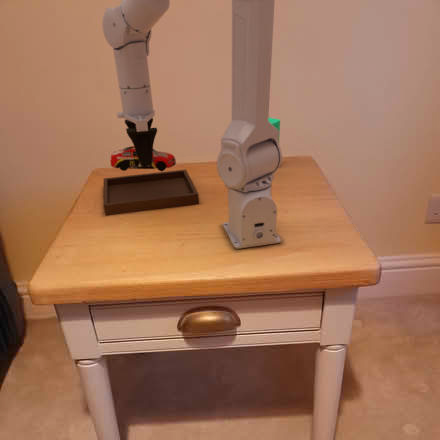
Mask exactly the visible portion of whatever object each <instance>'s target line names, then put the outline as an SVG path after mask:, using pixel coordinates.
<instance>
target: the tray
mask: <svg viewBox="0 0 440 440" xmlns="http://www.w3.org/2000/svg"><path fill="white" fill-rule="evenodd" d="M199 196H200V195H199V193H198V191H197V188H196V186H195V185H194V182H193V180H192V179H191V177H190V174H189V172H188V171H187V169H179V170H169V171H168V170H167V171H160V172H150V173H140V174H132V175H131V174H130V175H123V176H114V177H113V176H112V177H104V178H103V210H104V215H105V216H109V215H111V216H112V215H119V214H125V213H134V212H142V211H143V212H144V211H151V210H157V209H158V210H159V209H167V208H176V207H183V206H192V205H199V204H200V198H199Z"/></svg>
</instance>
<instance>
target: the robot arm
mask: <svg viewBox="0 0 440 440" xmlns="http://www.w3.org/2000/svg"><path fill="white" fill-rule="evenodd" d="M170 1H171V0H121V2H120V4H119V5H118V6H114V7H113V6H110V7H106V8H105V11H104V13H103V15H102V31H103V35H104V38H105V40H106V42H107V44H108V45H109V46H110V47H111V48H112V51H113V57H114V65H115V69H116V76H117V83H118V88H119V95H120V101H121V102H120V103H121V107H122V108H121V109H122V111H119V112H116V116H117V119H124V124H125V125H126V127H127V128H125V131H126V134H127V137H128V138H129V140H131V142H132V144H133V146H134V147H135V149H136V153H137V156H138V159H139V162H140V164H141V166H149V165H152V157H153V149H154V143H155V139H156V136H157V133H158V128H157V127H152V125H153V122H154V117H155V115H156V112H155V110H154V103H153V96H152V95H153V94H152V87H151V79H150V70H149V69H150V68H149V61H148V56H149V55H150V40H151V38H152V29H153V28H154V26H155V25H156V24H157V23H158V22H159V21H160V19H162V17H163V16H164V15H165V14H166V13H167V12H168V11H169V8H170ZM275 2H276V1H275V0H231V121H230V124H229V125H228V126H227V128H226V130H225V131H224V133H223V134H222V136H221V138H220V150H219V153H218V156H217V159H216V169H217V174H218V176H219V178H220V179H221V181H222V182H223V184H224V187H226V188H227V200H228V201H227V204H228V208H227V209H228V221H226V222H222V227H223V229H224V230H225V232H226V234H227V237H228V238H229V240H230V242H231V244H232V246H233V247H234V249H237V250H238V249H244V248H245V249H246V248H253V247H260V246H266V245H273V244H280V243H281V242H282V239H281V237H280V236H279V235H278V233H277V222H278V221H277V219H278V208H277V204H276V203H275V201H274V199H273V195H272V193H273V192H272V190H273V188H272V187H273V181H274V180H275V173H276V172H277V171H279V169H280V168H281V165H282V162H283V152H282V148H281V146H280V135H279V131H278V129H277V128H275V127H274V126H273V125H272V124H271V123H270V122H269V121H268V118H270V117H269V115H270V114H269V113H270V97H271V78H272V77H271V75H272V59H273V57H272V56H273V39H274V37H273V36H274V20H275V19H274V18H275Z"/></svg>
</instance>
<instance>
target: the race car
mask: <svg viewBox="0 0 440 440" xmlns="http://www.w3.org/2000/svg"><path fill="white" fill-rule="evenodd" d="M109 162H110V166H111V167H112V168H115V169H119V170H120V171H123V172H126V171H128V170H156V169H157V170H158V171H160V172H165V170H166V169H170V168H172V167H175V165H176V164H177V160H176V157H175V156H174V154H172V153H170V152H164V151H158V150H156V149H154V148H153V157H152V165H149V166H141V164H140V162H139V159H138V156H137V153H136V149H135V147H134V145H133V146H127V147H125V148H123V149H119V150H115V151H113V152H112V153H111V155H110V161H109Z"/></svg>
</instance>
